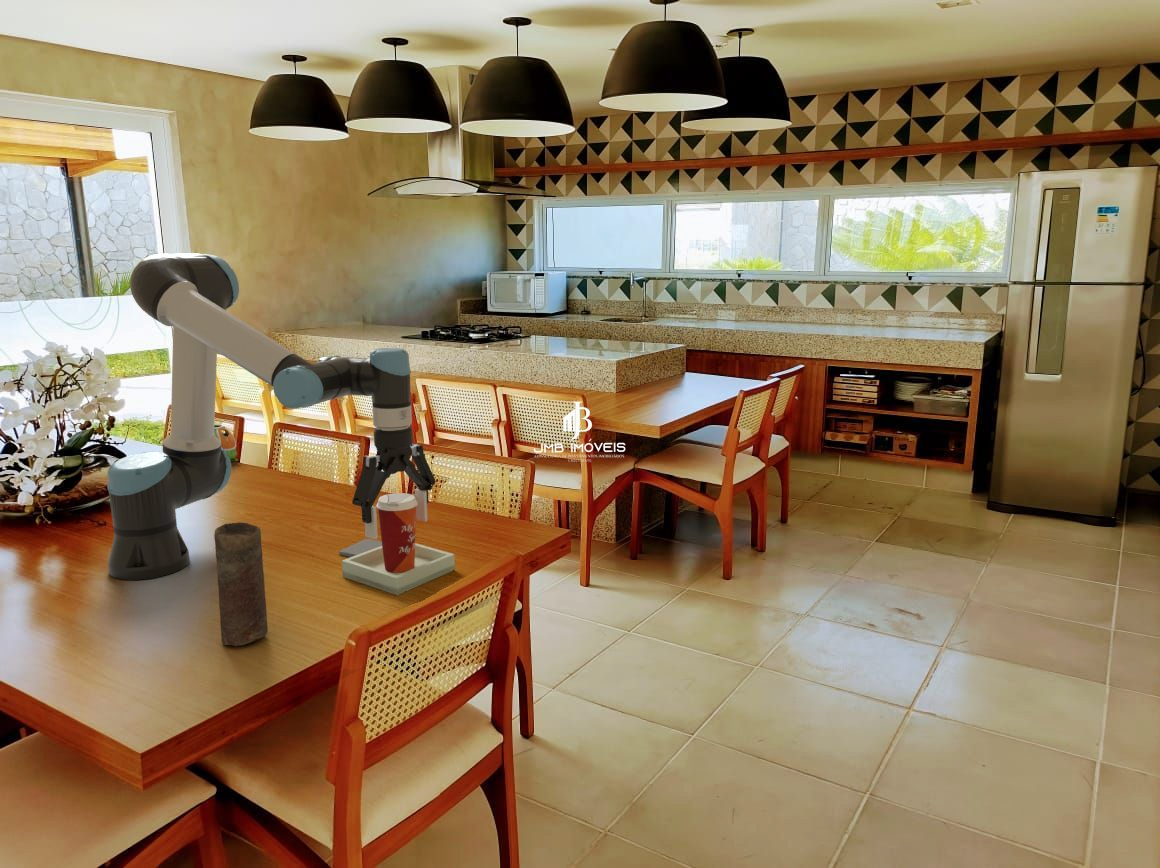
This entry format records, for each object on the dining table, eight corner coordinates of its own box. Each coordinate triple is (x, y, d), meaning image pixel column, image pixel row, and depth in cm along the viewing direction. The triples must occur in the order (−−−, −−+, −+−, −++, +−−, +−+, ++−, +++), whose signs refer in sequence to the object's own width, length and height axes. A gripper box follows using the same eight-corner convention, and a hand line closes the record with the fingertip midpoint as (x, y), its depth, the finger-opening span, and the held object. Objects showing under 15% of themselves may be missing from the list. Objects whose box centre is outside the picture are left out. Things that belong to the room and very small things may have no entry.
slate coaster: (372, 561, 177) (372, 557, 177) (339, 554, 181) (339, 551, 181) (398, 548, 185) (398, 544, 185) (366, 542, 189) (365, 538, 189)
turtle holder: (196, 456, 267) (193, 420, 264) (246, 459, 263) (243, 423, 261) (169, 465, 255) (165, 428, 253) (221, 469, 251) (217, 431, 249)
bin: (397, 595, 160) (396, 578, 159) (342, 576, 169) (341, 560, 168) (454, 570, 173) (454, 554, 172) (401, 554, 182) (400, 538, 181)
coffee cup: (415, 575, 167) (412, 504, 163) (374, 574, 167) (371, 503, 163) (423, 560, 175) (421, 492, 171) (385, 559, 175) (381, 491, 172)
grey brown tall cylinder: (255, 625, 147) (246, 518, 142) (278, 638, 142) (269, 527, 138) (213, 641, 141) (202, 529, 136) (235, 654, 136) (225, 538, 132)
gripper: (355, 440, 152) (361, 549, 157) (450, 418, 172) (453, 516, 177) (329, 435, 156) (335, 541, 161) (424, 414, 176) (428, 510, 181)
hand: (397, 528), depth 169 cm, fingers open, 13 cm apart
